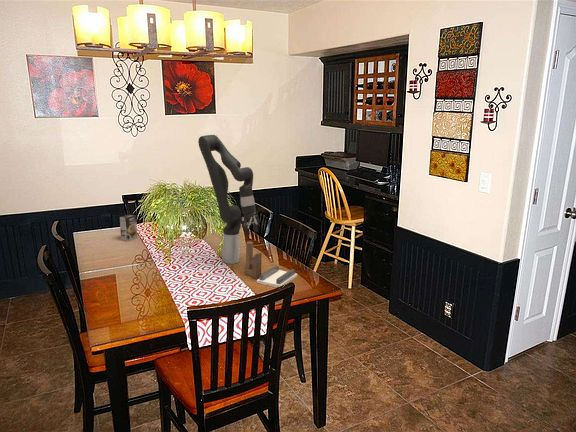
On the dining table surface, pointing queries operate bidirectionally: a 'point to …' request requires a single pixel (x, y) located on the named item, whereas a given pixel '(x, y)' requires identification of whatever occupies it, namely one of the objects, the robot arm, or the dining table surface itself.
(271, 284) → the slotted base
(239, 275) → the dining table surface
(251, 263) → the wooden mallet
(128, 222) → the coffee box
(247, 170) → the robot arm
